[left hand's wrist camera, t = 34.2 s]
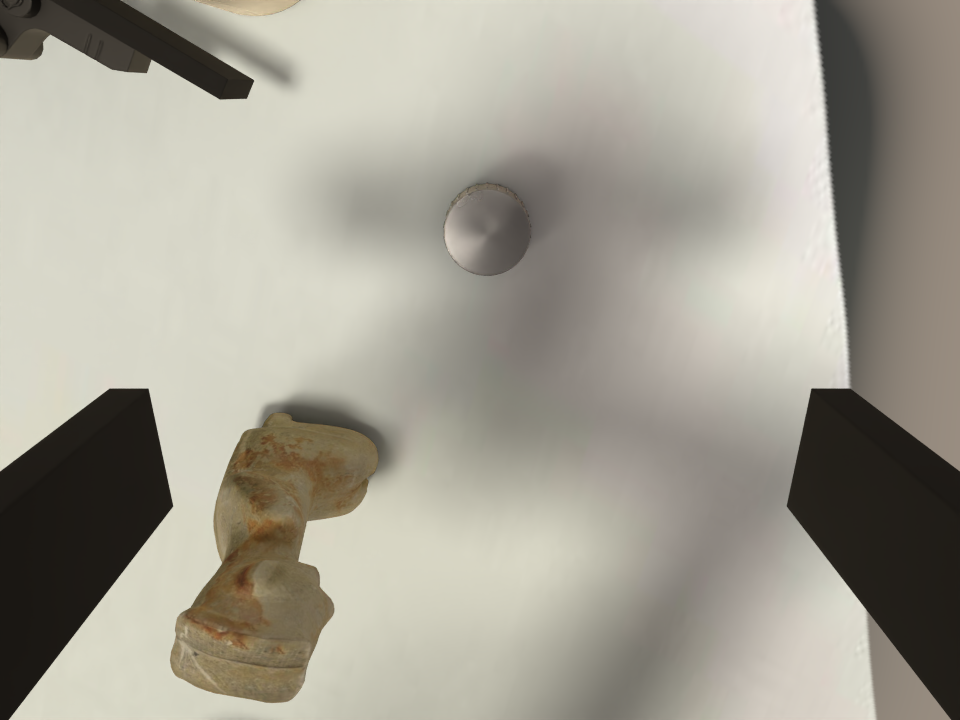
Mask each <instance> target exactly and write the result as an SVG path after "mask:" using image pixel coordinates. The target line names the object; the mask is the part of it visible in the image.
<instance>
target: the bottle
mask: <svg viewBox="0 0 960 720" xmlns="http://www.w3.org/2000/svg"><path fill="white" fill-rule="evenodd" d="M193 1H196V2H200V3H203V4H206V5H209V6H213V7H216V8H219V9H222V10H226V11H229V12H232V13H236V14H240V15H247V16H263V15H269V14H274V13H277V12H280V11H283V10H285V9H287V8H289V7H291V6H293V5H294V4H295V3H297V2H298V1H300V0H193Z"/></svg>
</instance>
